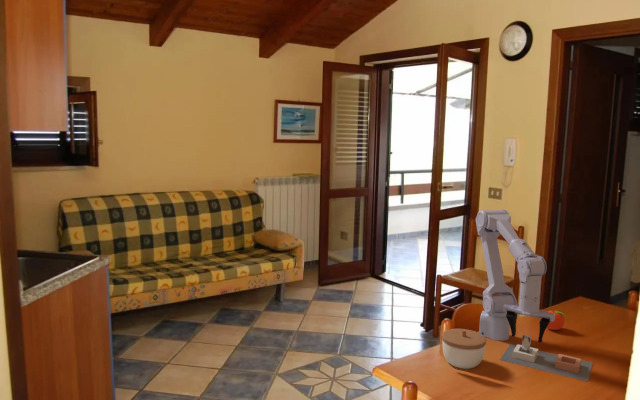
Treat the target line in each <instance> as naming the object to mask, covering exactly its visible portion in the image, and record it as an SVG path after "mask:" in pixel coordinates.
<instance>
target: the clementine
mask: <svg viewBox="0 0 640 400" xmlns="http://www.w3.org/2000/svg"><path fill="white" fill-rule="evenodd" d="M547 312H550V313H555V320H554V322H553V321H550V323H549V324H548V326H547V328H548V329H549V330H552V331H558V330H561V329H562V328H563V327H564V325H565V317H567V316H566V314H565V313H563V312H561V311H559V310H554V309H551V310H547ZM564 316H565V317H564ZM547 328H546V329H547Z"/></svg>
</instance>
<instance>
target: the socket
mask: <svg viewBox="0 0 640 400" xmlns="http://www.w3.org/2000/svg"><path fill="white" fill-rule="evenodd" d="M557 355H558V356H557V359H556V361H555V368H558V369H562V370H566V371H570V372H575V373H579V369H580V366H581V360H582V358H579V357H575V356H571V355H566V354H562V353H558V354H557Z"/></svg>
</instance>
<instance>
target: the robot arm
mask: <svg viewBox="0 0 640 400" xmlns="http://www.w3.org/2000/svg"><path fill="white" fill-rule="evenodd" d="M511 222H512V216H511V215H510V213H509V211H508V210H506V209H495V210H494V209H493V210H492V209H491V210H490V209H489V210H483V209H480V210H479V211H478V212H477V215H476V217H475V224H476V231H477V236H479V237H480V240H481V247H482V251H483V258H484V264H485V269H486V274H487V275H486V276H487V281H488V286H487V287H486V288H485V289H484V290H483V292H482V307H483V310H482V311H481V314H480V318H479V325H478V326H479V327H478V328H479V329H478V333H480V334H482V335H483V336H484V337H485V338H486V339H487V338H488V339H490V340H494V341H499V342H500V341H508V340H509V339H510V332H511V337H516V336H517V335H516V334H517V320H518V315H521V316H525V317H526V316H527V317H532V318H536V319H540V320H539V334H538V343H542V341H543V337H544V333H545V332H546V329H547V326H548V324H549V323H550V321H553V322H554V320H555V313H550V312H548V310H547V311H546V310H543V309H540V304H541V303H540V302H541V301H540V300H541V288H542V287H541V286H542V277H543V276H544V275H545V274H546V272H547V269H548V267H547V262H546V260H545V258H544V257H543V256H541V255H539V254H536V253H535V251H533V249H532V248H531V246H530V245H529V244H528V243H527V241H526V240H525V239H523V238H520V237H519V236H518V234H517V232H516V230H515V229H514V227H513V225H512V223H511ZM499 236H502V237H503V239H504V240H505V241H506V242H507V243H508V244H509V245H508V251H509V253H511V255H512V257H513V258H514V260H515V261H516V262H517V271H518V279H519V281H520V284H519V285H520V286H519V287H520V288H519V298H518V299H519V300H518V301H519V303H518V301H517V298H516V296H515V294H514V289H513V288H511V287H510V286H509V285H507V284H506V280H505V276H504V271H503V265H502V261H501V259H502V258H501V254H500V249H499V244H498V238H499Z"/></svg>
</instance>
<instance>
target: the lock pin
mask: <svg viewBox="0 0 640 400" xmlns="http://www.w3.org/2000/svg"><path fill="white" fill-rule="evenodd" d="M521 338H522V340H521V345H522V351H521V352H525V353H529V354H530V347H531V342H532V336H531V335H530V334H522V337H521Z"/></svg>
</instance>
